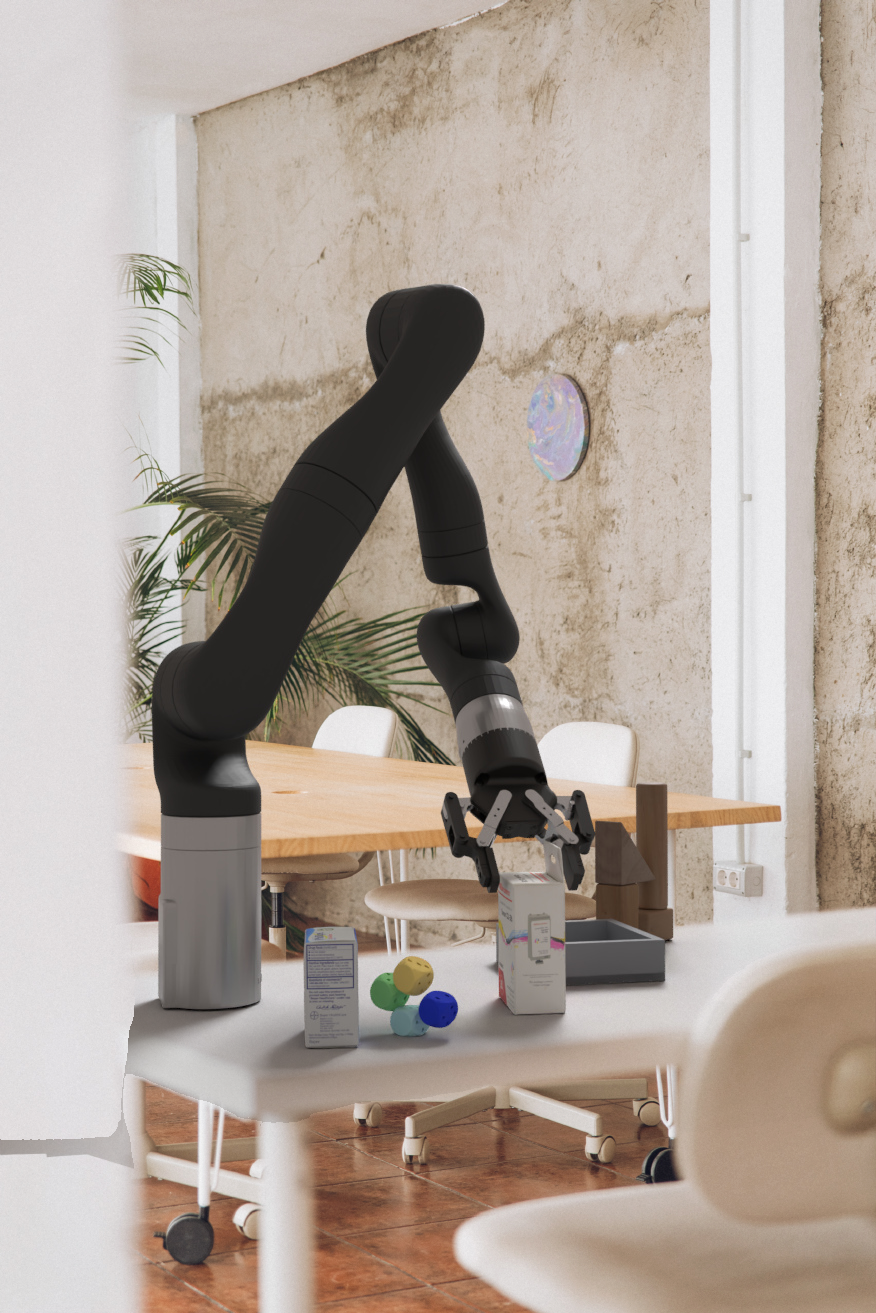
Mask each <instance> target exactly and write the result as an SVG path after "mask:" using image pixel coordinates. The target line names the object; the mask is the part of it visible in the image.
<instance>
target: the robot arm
mask: <svg viewBox="0 0 876 1313" xmlns="http://www.w3.org/2000/svg"><path fill="white" fill-rule="evenodd" d="M484 316H485V314H484V311H483V308H482V306H481V303H480V301H479V300H478V298H477V297H476V296H475V295H474V294H473V293H472V292H471V291H470V290H469V289H467V288H465V287H463V286H460V285H456V284H451V283H433V284H428V285H427V284H426V285H420V286H413V287H406V288H401V289H396V290H391V291H389V292H386V293H385V294H383V295H382V296H379V297H378V299H377V300H376V301H375V302H374V303H373V304H372V306H371V307H370V309H369V312H368V315H367V319H366V325H365V337H366V338H365V340H366V345H367V350H368V351H367V352H368V354H369V360H370V362H371V365H372V369H373V373H374V376H375V378H376V380H375V382H374V383H373V384H372V386H371V387H369V388H368V390H367V391H366V392H365V393H364V394H363V395H362V396H361V397H360V398H359V399H358V400H357V401H356V402H355V403H354V404H353V405H351V407H349V408H348V409H347V410H345V411H344V412H343V413H342V414H341V415H340V416H339V417H337V418H336V419H335V420H334V421H333V422H332V423H331V424H329V426H328V427H326V428H325V429H324V430H323V431H322V432H320V433H319V434H318V436H317V437H315V438H314V439H313V441H311V443H310V444H309V445H307V447H306V448H305V449H304V450H303V451H302V453H301V454H300V456H299V457H298V458H297V459H296V462H295V463H294V465H293V466H292V468H291V470H290V471H289V472H288V474H287V476H286V477H285V479H284V481H283V482H282V484H281V486H280V487H279V489H278V490H277V493H276V495H275V496H274V497H273V499H272V502H271V504H270V506H269V508H268V510H267V513H266V515H265V518H264V521H263V523H262V527H261V531H260V536H259V539H258V544H257V547H256V551H255V556H254V560H253V563H252V567H251V570H250V572H249V574H248V578H247V580H246V582H245V584H244V586H243V589H242V590H241V591H240V593H239V595H238V597H237V598H236V600H235V601H234V603H233V604H232V605H231V607H230V609H229V610H228V612H227V613H226V614H225V616H224V617H223V619H222V620H221V621H220V623H219V624H218V626H217V627H216V629H214V631H213V632H212V633H211V635H210V636H209V637H208V638H207V639H206V640H199V641H198V640H197V641H192V642H187V643H184V644H181V645H180V646H178V647H175V648H174V649H172V650H171V651H169V652H168V654H167V655H165V657H164V658H163V659H162V661H161V662H160V664H159V665H158V668H157V670H156V672H155V676H154V679H153V684H152V691H151V730H152V737H151V738H152V759H153V760H152V761H153V762H152V763H153V774H154V780H155V784H156V786H157V790H158V792H159V798H160V893H159V895H158V901H157V902H158V908H157V909H158V913H157V914H158V919H157V921H158V928H157V930H158V932H157V934H158V936H157V937H158V938H157V939H158V941H157V942H158V945H157V946H158V947H157V948H158V954H157V956H158V957H157V962H158V967H157V968H158V970H157V971H158V973H157V974H158V977H157V978H158V982H157V984H158V985H157V986H158V987H157V988H158V990H157V992H158V993H157V994H158V999H159V1002H160V1005H161V1006H162V1008H163V1009H170V1008H172V1009H173V1008H175V1009H177V1008H178V1009H179V1008H180V1009H186V1010H187V1009H191V1010H217V1009H218V1010H219V1009H221V1010H222V1009H228V1008H229V1009H230V1008H237V1007H238V1008H239V1007H243V1006H249V1005H252V1004H255V1003H257V1002H260V1001H261V1000H262V982H263V979H262V978H263V977H262V976H263V975H262V789H261V785H260V783H259V781H258V780H257V778H256V777H255V776H254V774H253V773H252V770H251V767H250V766H249V762H248V757H247V745H246V743H247V742H246V735H248V734H250V733H251V732H252V731H254V730H255V729H257V727H259V726H260V725H261V723H262V722H263V721H264V720H265V718H266V717H267V716H268V714H269V712H270V711H271V709H272V707H273V705H274V703H275V701H276V700H277V697H278V695H279V692H280V691H281V688H282V685H283V684H284V681H285V679H286V676H287V674H288V671H289V669H290V667H291V665H292V663H293V661H294V658H295V657H296V654H297V651H298V650H299V648H300V645H301V643H302V642H303V638H304V637H305V634H306V633H307V631H308V628H309V627H310V625H311V624H312V621H314V618H315V617H316V615H317V613H318V612H319V610H320V609H321V607H322V606H323V605H324V602H325V601H326V599H327V598H328V596H329V594H330V593H331V591H332V590H333V588H334V586H335V585H336V583H337V581H338V579H339V578H340V576H341V575H342V573H343V571H344V569H345V567H346V566H347V564H348V563H349V562H350V560H351V558H352V556H353V555H354V553H355V551H356V550H357V549H358V547H359V546H360V544H361V542H362V541H363V539H364V537H365V536H366V534H367V532H368V530H369V528H370V527H371V525H372V523H373V521H375V519H376V516H377V515H378V513H379V511H380V509H381V508H382V506H383V504H384V502H385V500H386V498H387V496H388V495H389V493H390V490H391V488H392V487H393V486H394V484H395V482H396V481H397V479H398V478H399V476H400V474H401V473H402V471H403V469H404V470H405V474H406V478H407V483H408V486H409V491H410V496H411V499H412V507H413V511H414V517H415V525H416V531H417V536H418V537H417V538H418V543H419V549H420V555H421V561H422V562H421V563H422V566H423V567H422V568H423V571H424V575H425V577H426V578H427V580H428V581H429V582H431V583H432V584H434V585H435V584H436V585H440V586H459V587H460V586H461V587H467V588H470V589H471V590H473V591H474V592H475V593H476V594H477V598H478V600H475V601H470V602H463V603H459V604H457V603H456V604H452V605H446V606H440V607H437V608H433V609H430V610H429V611H427V612H426V613H424V614H423V616H422V617H421V619H420V620H419V621H418V622H419V623H418V626H417V629H416V644H417V647H418V651H419V653H420V656H421V658H422V660H423V661H424V664H425V665H426V667H427V669H428V670H429V671H430V673H431V674H432V675H433V677H434V678H435V679H436V681H437V682H438V683H439V685H440V686H441V688H442V689H443V690H442V691H443V692H444V693H445V694H446V697H447V699H448V701H449V705H450V708H451V712H452V716H453V720H454V725H455V729H456V742H457V746H458V750H457V751H458V756H459V759H460V760H461V765H462V767H463V771H464V776H465V780H466V784H467V789H468V792H469V796H470V797H458V794H457V793H455V792H454V791H447V792H446V793H445V795H444V798H443V803H442V807H441V810H440V816H441V819H442V822H443V826H444V827H443V828H444V830H445V834H446V838H447V841H448V845H449V848H450V852H451V854H452V856H453V857H454V858H457V859H461V858H463V857H468V858H470V859H472V861H473V862H474V865H475V870H476V874H477V878H478V881H479V882H478V883H479V885H480V886H481V887H482V888H486V890H487V893H488V894H496V893H497V894H498V887H499V883H500V875H499V873H500V872H499V868H498V864H497V860H496V855H495V851H494V848H493V845H494V843H495V841H496V839H497V837H498V836H499V837H501V838H502V840H511V839H515V838H523V839H536V840H537V841H538V842H539V843H540V844H541V845H543V840H546V841H548V842H550V843H552V844H554V845H556V846H557V847H560V849H561V852H562V863H563V875H564V882H565V884H566V887H567V890H568V891H569V892H570V891H577V890H578V888H579V886H581V885H582V882H583V879H584V877H585V873H586V869H585V866H584V862H583V859H582V856H586V855H588V854H590V851H591V846H592V844H593V841H594V840H595V826H594V824H593V821H592V817H591V812H590V809H589V805H588V802H587V797H586V795H585V792H584V791H582V790H580V789H575V790H573V792H572V794H571V795H556V793H555V792H554V791H553V789H551V788H550V786H549V783H548V778H547V773H546V770H545V766H544V763H543V760H542V757H541V753H540V750H539V747H538V743H537V740H536V737H535V733H534V729H533V726H532V723H531V722H530V721H531V720H530V719H529V717H528V715H527V713H526V711H525V708H524V705H523V701H522V698H521V695H520V692H519V688H518V683H517V680H516V678H515V676H514V674H513V672H512V670H511V669H510V668H509V667H508V666H507V665H506V664H507V663H510V662H511V661H512V659H513V658H514V657H515V655H517V652H518V650H519V646H520V631H519V627H518V624H517V621H516V619H515V616H514V614H513V612H512V610H511V608H510V606H509V603H508V602H507V599H506V598H505V595H504V593H503V591H502V588H501V586H500V584H499V581H498V579H497V575H496V572H495V569H494V565H493V563H492V558H491V554H490V553H491V552H490V547H489V540H488V534H487V528H486V527H487V526H486V521H485V513H484V509H483V505H482V499H481V496H480V493H479V490H478V488H477V484H476V482H475V480H474V478H473V476H472V474H471V471H470V470H469V468H468V466H467V464H466V463H465V460H464V459H463V458H462V456H461V454H460V452H459V451H458V449H457V447H456V445H455V443H454V441H453V439H452V436H451V435H450V433H449V431H448V428H447V426H446V424H445V422H444V419H443V415H442V412H441V410H442V408H443V407H444V406H445V404H446V403H447V402H448V400H449V399H450V398H451V396H452V395H453V394H454V392H455V391H456V389H457V388H458V387H459V385H460V384H461V383H462V382H463V380H464V379H465V377H466V376H467V374H468V373H469V372H470V370H471V369H472V367H473V366H474V364H475V363H476V361H477V358H478V356H479V354H480V352H481V349H482V345H483V343H484V338H485V326H486V324H485V317H484ZM555 810H558V811H560V812H561V813H562V815H563V817H564V819H563V817H561V815H559V813H557V812H556V811H555ZM468 812H470V814H471V815H472V816H473V817H475V819H476V820H478V821H479V822H480V823H481V824H483V826H482V828H481V830H480V832H479V834H478V836H477V837H474V836H470V834H469V832H468V827H467V823H466V819H465V818H466V817H467V816H466V815H467V813H468ZM564 820H565V821H569V824H570V828H571V829H570V828H569V827H567V825H565V822H564ZM546 826H547V828H545V827H546Z"/></svg>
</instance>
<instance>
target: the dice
mask: <svg viewBox="0 0 876 1313" xmlns="http://www.w3.org/2000/svg"><path fill="white" fill-rule="evenodd" d="M395 966H396V967H395V968H394V970H393V972H383V973H381V974H379V975H378V976H376V978H375V979H374V980H373V981H372V983H371V985H370V989H369V995H370V1000H371V1002H372V1003H373V1005H374V1006H375V1007H377V1008H379V1009H380V1010H383V1011H387V1012H392V1013H391V1015H390V1019H389V1024H390V1027H391V1030H392V1031H393V1032H394V1034H396V1036H400V1037H419V1036H423V1035H425V1034H426V1033H427V1031H428V1030H429V1028H430V1027H432V1028H436V1029H437V1028H438V1029H444V1028H447V1027H448V1026H450V1025H451V1024H452V1023H453V1022H454V1021H455V1019H456V1017H457V1016H458V1013H459V1005H458V1004H459V1003H458V1001H457V999H456V997H455V996H454V995H452V993H449V992H448V991H443V990H442V991H441V990H432V991H429V992H428V993H427V990H428V989H429V988H430V987H431V985H432V983H433V981H434V976H435V972H434V969H433V967H432V965H431V963H430V962H429V961H428V960H425V959H424V958H422V957H420V956H415V955H409V956H407V957H406V956H405V957H404V958H402V959H401V960H400V961H399V962H398V963H397V965H395ZM425 992H426V994H425V995H424V996H423V997H422V998H421V1000H420V1002H419V1004H407V1002H409V999H410V997H416V996H417V997H418V996H420V995H422V994H424V993H425Z"/></svg>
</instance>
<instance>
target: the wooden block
mask: <svg viewBox="0 0 876 1313" xmlns="http://www.w3.org/2000/svg"><path fill="white" fill-rule="evenodd" d="M668 813H669V812H668V785H667V783H665V782H654V781H653V782H652V781H650V782H647V781H646V782H638V783H636V785H635V826H636V827H635V828H636V829H635V840H636V841H634V840H633V839H632V837H631V836H630V834H629V832H628V831H627V828H625V826H624V824H623V822H621V821H611V820H609V821H607V820H595V821H594V831H595V837H594V852H595V853H594V870H595V871H594V880H595V881H594V882H595V883H596V885H595V919H614V920H617V921H619V922H622V923H624V924H627V925H629V926H632V927H634V928H637V929H639V930H642V931H644V932H647V933H649V934H652V935H654V936H657V937H659V938H662V939H664V940H665V941H669V940H672V939H673V938H674V908H672V907H669V891H668V890H669V878H668V877H669V869H668V868H669V865H668V864H669V862H668V860H669V856H668V852H669V851H668V848H669V847H668V844H669V843H668V842H669V841H668V837H669V834H668V833H669V832H668V831H669V830H668V828H669V827H668V825H669V824H668V817H669V816H668V815H669V814H668Z"/></svg>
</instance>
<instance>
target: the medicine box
mask: <svg viewBox="0 0 876 1313" xmlns="http://www.w3.org/2000/svg"><path fill="white" fill-rule="evenodd" d="M303 944H304V945H303V1012H304V1013H303V1018H304V1019H303V1021H304V1025H303V1026H304V1044H305V1047H306V1048H308V1049H339V1048H341V1049H342V1048H343V1049H344V1048H358V1046H359V1045H360V1020H359V1019H360V1018H359V1016H360V1014H359V1013H360V1012H359V1008H360V1007H359V1006H360V1004H359V1001H360V1000H359V998H360V997H359V947H358V946H359V945H358V939H357V932H356V928H354V926H320V927H319V926H318V927H310V928H306V929H305V930H304V943H303Z"/></svg>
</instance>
